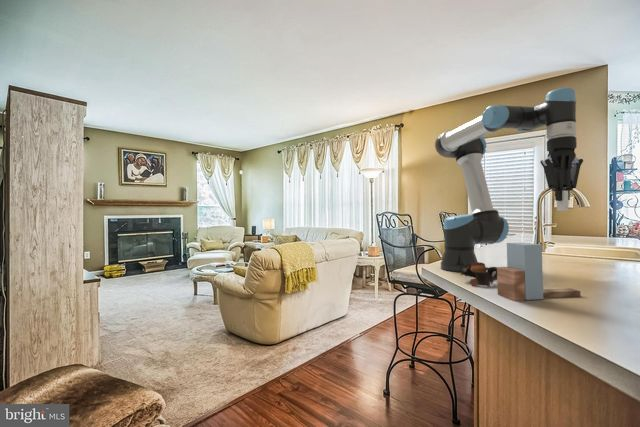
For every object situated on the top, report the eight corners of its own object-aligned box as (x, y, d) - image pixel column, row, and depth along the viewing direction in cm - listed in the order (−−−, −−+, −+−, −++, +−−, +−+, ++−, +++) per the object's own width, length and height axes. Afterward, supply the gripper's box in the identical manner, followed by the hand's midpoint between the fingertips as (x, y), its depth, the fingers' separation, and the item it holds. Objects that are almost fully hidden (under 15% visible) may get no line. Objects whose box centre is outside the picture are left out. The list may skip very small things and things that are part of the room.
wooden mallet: (514, 301, 82) (513, 271, 82) (497, 294, 89) (496, 267, 89) (587, 298, 83) (586, 268, 83) (565, 291, 90) (564, 265, 90)
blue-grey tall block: (525, 299, 82) (524, 245, 82) (507, 293, 89) (506, 242, 89) (543, 299, 82) (541, 244, 83) (524, 292, 89) (522, 242, 90)
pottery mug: (462, 287, 101) (456, 263, 105) (468, 294, 107) (463, 272, 112) (502, 281, 95) (495, 256, 99) (506, 289, 102) (499, 265, 106)
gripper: (552, 135, 94) (553, 211, 94) (591, 135, 95) (592, 210, 95) (533, 140, 101) (534, 211, 101) (569, 140, 102) (571, 210, 102)
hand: (562, 210), depth 98 cm, fingers closed
